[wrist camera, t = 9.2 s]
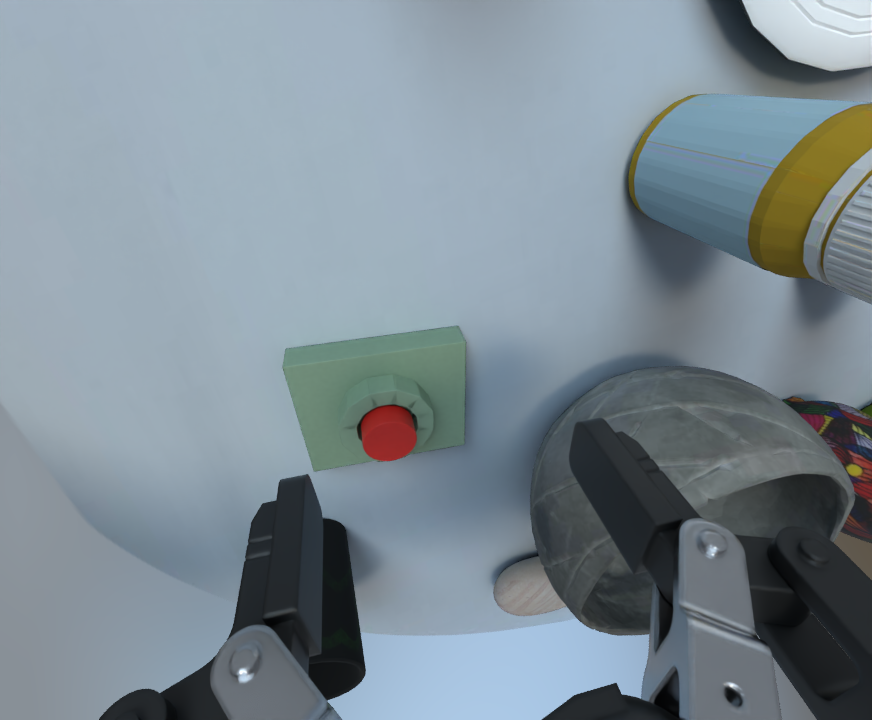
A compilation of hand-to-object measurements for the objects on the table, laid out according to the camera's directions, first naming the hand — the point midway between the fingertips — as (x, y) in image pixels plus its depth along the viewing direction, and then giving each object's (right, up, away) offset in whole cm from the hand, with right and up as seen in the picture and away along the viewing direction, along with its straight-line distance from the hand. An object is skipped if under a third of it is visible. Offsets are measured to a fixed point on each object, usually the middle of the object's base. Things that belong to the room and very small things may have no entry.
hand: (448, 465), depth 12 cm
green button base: (-5, +1, +19) cm, 20 cm away
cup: (-12, -14, +28) cm, 33 cm away
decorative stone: (+12, -22, +40) cm, 47 cm away
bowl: (+15, -2, +26) cm, 30 cm away
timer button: (-4, -1, +16) cm, 17 cm away
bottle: (+15, +16, +14) cm, 26 cm away
